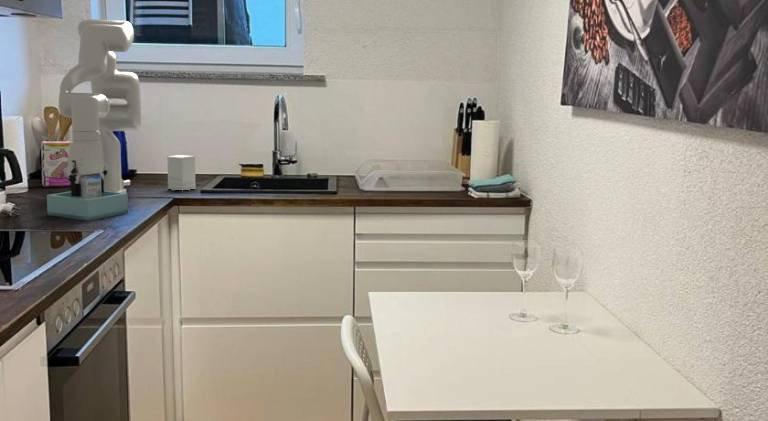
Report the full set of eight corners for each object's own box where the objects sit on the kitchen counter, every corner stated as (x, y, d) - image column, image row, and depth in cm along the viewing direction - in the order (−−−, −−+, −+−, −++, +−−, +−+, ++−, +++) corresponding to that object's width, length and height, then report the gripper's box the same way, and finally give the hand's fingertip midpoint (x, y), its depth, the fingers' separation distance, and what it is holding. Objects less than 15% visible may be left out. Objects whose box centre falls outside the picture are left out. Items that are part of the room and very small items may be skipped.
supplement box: (196, 189, 283) (195, 155, 280) (182, 191, 276) (182, 157, 274) (181, 187, 286) (180, 154, 284) (167, 189, 279) (166, 155, 277)
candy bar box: (43, 187, 275) (41, 142, 272) (42, 185, 279) (40, 141, 276) (76, 186, 281) (75, 142, 278) (74, 184, 285) (72, 140, 282)
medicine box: (87, 206, 223) (86, 177, 222) (73, 205, 224) (72, 176, 223) (102, 202, 231) (101, 174, 229) (89, 201, 232) (88, 173, 230)
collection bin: (88, 207, 238) (87, 188, 237) (128, 212, 232) (127, 193, 231) (47, 215, 224) (46, 195, 223) (88, 220, 217) (87, 200, 216)
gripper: (98, 134, 233) (99, 189, 236) (53, 137, 218) (55, 197, 221) (116, 135, 230) (118, 191, 233) (72, 139, 215) (75, 199, 218)
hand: (87, 194), depth 227 cm, fingers closed on medicine box, 8 cm apart
